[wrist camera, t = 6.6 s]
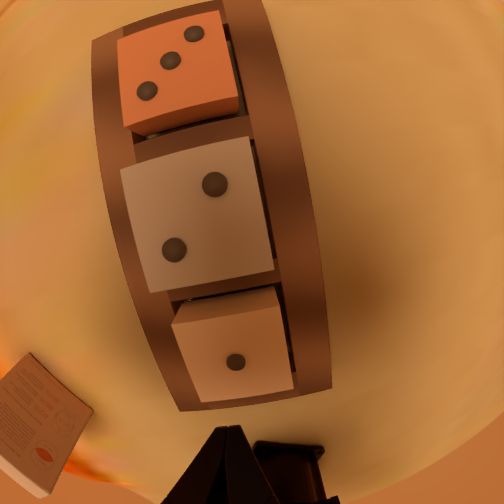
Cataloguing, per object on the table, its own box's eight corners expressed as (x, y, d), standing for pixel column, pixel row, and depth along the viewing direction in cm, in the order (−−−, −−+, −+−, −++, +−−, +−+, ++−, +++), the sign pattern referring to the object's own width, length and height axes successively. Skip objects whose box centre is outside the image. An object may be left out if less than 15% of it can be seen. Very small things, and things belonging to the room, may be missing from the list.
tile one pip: (287, 361, 16) (294, 391, 13) (206, 374, 16) (200, 404, 13) (273, 285, 14) (280, 307, 12) (182, 302, 15) (170, 326, 12)
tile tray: (324, 370, 17) (332, 388, 15) (184, 393, 17) (179, 411, 16) (257, 11, 12) (259, -6, 10) (105, 52, 12) (91, 40, 10)
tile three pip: (239, 112, 12) (238, 94, 10) (143, 136, 12) (122, 126, 10) (222, 35, 11) (218, 8, 9) (134, 59, 11) (115, 38, 9)
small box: (20, 376, 18) (-33, 436, 7) (29, 350, 17) (-38, 417, 7) (78, 429, 19) (40, 500, 9) (96, 410, 18) (50, 496, 8)
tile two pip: (268, 253, 13) (275, 271, 10) (166, 273, 13) (148, 294, 10) (247, 146, 12) (248, 135, 9) (142, 172, 12) (117, 169, 9)
